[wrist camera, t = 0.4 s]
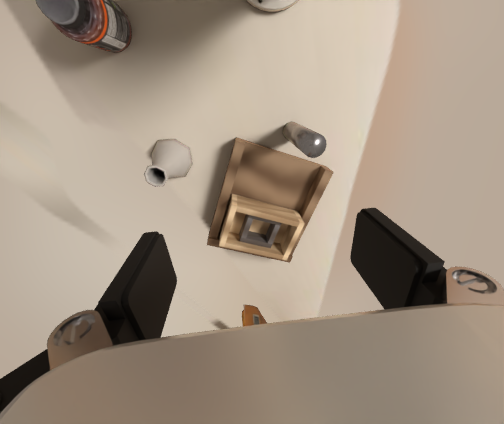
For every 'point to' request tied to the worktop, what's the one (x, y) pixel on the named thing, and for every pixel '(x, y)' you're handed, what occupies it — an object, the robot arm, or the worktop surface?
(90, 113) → the worktop surface
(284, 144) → the worktop surface
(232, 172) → the bay
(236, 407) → the robot arm
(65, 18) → the supplement bottle
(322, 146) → the handle peg
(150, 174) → the flask
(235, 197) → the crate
